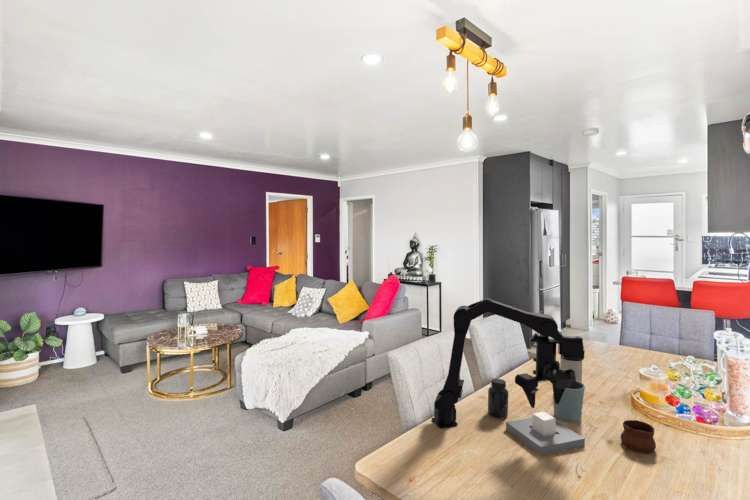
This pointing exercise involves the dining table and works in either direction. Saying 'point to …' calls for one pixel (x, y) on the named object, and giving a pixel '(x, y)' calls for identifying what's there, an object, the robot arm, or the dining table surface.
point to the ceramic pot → (638, 437)
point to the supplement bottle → (498, 399)
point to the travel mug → (572, 366)
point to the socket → (547, 444)
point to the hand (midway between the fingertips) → (544, 405)
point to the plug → (543, 424)
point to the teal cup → (570, 403)
